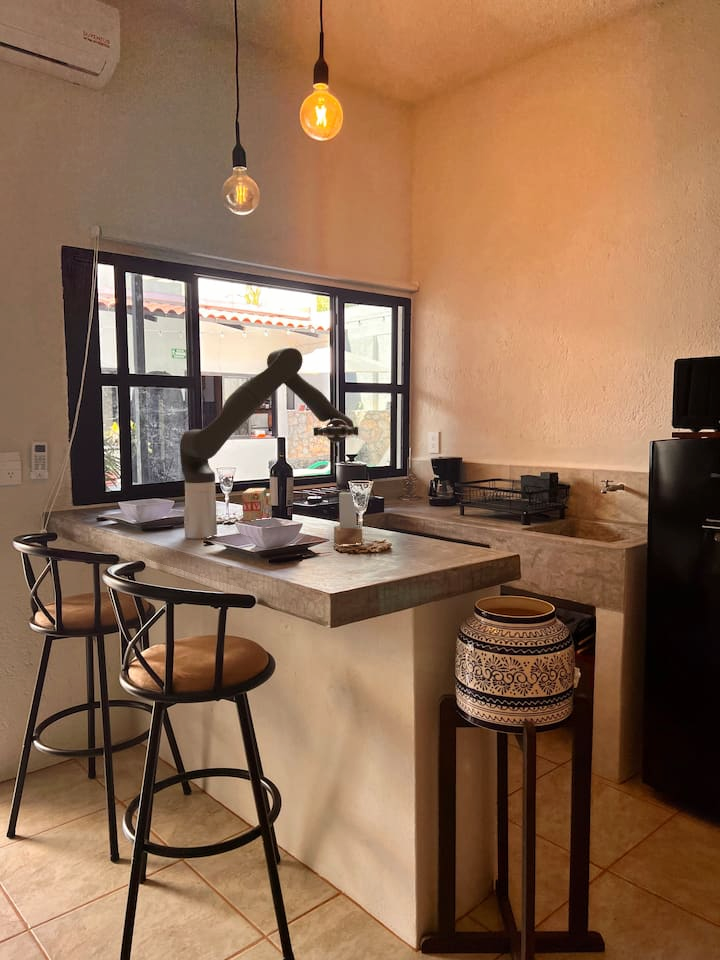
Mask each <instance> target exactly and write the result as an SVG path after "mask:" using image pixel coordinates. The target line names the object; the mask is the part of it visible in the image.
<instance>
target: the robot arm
mask: <svg viewBox="0 0 720 960" xmlns="http://www.w3.org/2000/svg"><path fill="white" fill-rule="evenodd" d="M303 360H304V359H303V356H302V353H301V351H299V349H297V348H294V347H291V346H290V347H288V346H286V347H282V348H278V349H275V350H273V351H271V352H270V353H269V354H268V356H267V358H266V365H267V367H266V369H264V370H263V371H261V372H260V373H258V374H255V376H253V377H251V378H250V379H248V380H247V381H245V382H244V383H242V384H241V385H240V386H239V387H237V388H236V389H235V390H234V391H233V392H232V393H231V394H229V396H228V398H227V399H226V400H225V402H224V404H223V406H222V409H221V411H220V413H219V414H218V415H217V417H215V419H214V420H212V422H210V423H209V424H208V425H206V426H205V427H204V428H202V429H189V430H187V431H186V432H184V434H182V436H181V438H180V444H179V454H180V466H181V473H182V474H183V477H184V495H185V496H184V498H185V501H184V502H185V506H184V507H183V520H184V521H183V522H184V523H183V524H184V538H185V539H194V540H195V539H196V540H197V539H199V540H201V538H204V537H209V536H214V535H217V536H218V526H217V523H218V522H217V521H218V520H217V518H218V517H217V496H216V495H217V494H216V473H215V472H214V470H213V469H212V468H211V467H210V463H209V460H210V459H211V458H213V457H215V456H216V454H217V453H218V452H219V451H220V450H221V448H222V447H223V446H224V444H225V443H227V441H228V440H229V439H230V437H231V436H233V434H234V433H235V432H236V431H237V430H238V429H239V428H240V427H242V426H243V425H244V424H245V422H247V420H249V419H250V418H251V417H252V416H253V415H254V414H255V413H256V412H257V411H258V410H259V409H261V407H262V406H263V405H264V403H266V402H267V400H268V399H270V397H272V395H273V394H274V393H275V392H276V391H277V390H278V389H279V388H280V387H281V386H282V385H283V384H284V385H285V386H286V387H287V388H288V389H290V391H292V392H293V393H294V394H295V396H297V398H299V399H300V400H301V401H302V402H303V403H304V404H305V405H306V407H307V408H308V409H309V410H310V411H311V413H313V415H314V416H315V417H316V418H317V420H319V422H321V423H324V422H326V421H329V420H330V421H329V422H328V423H327V424H326V425H323V426H315V427H313V436H314V437H317V436H319V437H325V438H327V439H328V441H330V442H332V443H333V444H334V443H335V444H338V443H340V442H343V441H344V440H345V439H346V438H347V437H350V436H359V427H358V426H354V422H353V421H352V419H351V418H349V417H348V416H347V415H345V414H344V413H342V412H341V411H339V410H338V409H337V408H336V407H335V406H334V405H333V404H332V402H330V401H329V399H328V397H326V395H324V393H323V392H321V391H320V390H319V389H318V388H316V387H315V386H314V385H312V384H310V383H309V382H308V381H307V380H306V379H304V378H303V377H302V376H301V375H300V374H299V373H298V372H300V370H301V368H302V366H303V362H304V361H303ZM331 419H332V420H331ZM204 539H205V538H204Z"/></svg>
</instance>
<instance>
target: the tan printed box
mask: <svg viewBox="0 0 720 960" xmlns="http://www.w3.org/2000/svg"><path fill="white" fill-rule="evenodd" d="M241 495H242V496H241V497H242V523H243V522H246V521H251V520H256V519H262V518H270V517H271V516H272V498H271V497H272V496H271V495H272V494H271V493H270V492H269V493H268V492H267V488H266V487H252V488H251V487H250V488H248V489H246V490H245V491H243V492H242V493H241Z"/></svg>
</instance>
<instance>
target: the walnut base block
mask: <svg viewBox="0 0 720 960" xmlns="http://www.w3.org/2000/svg"><path fill="white" fill-rule="evenodd" d="M333 541H334V542H333V543H334V544H335V543H336V544H338V545H341V544H356V543H362V544H363V529H362V527H360V526H359V525H357V524H356V528H355V529H340V525H335V526H333ZM336 544H335V545H336Z"/></svg>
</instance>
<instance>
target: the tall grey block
mask: <svg viewBox="0 0 720 960" xmlns="http://www.w3.org/2000/svg"><path fill="white" fill-rule="evenodd" d="M352 492H353V491H352ZM352 492H349V491H348V492H347V491H345V492H339V494H338V498H339V499H338V500H339V501H338V503H339V504H338V509H339V511H338V512H339V517H338V518H339V526H340V529H355V528H356V525H357V509H356V510H355V507H354V502H353V496H352Z"/></svg>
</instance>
